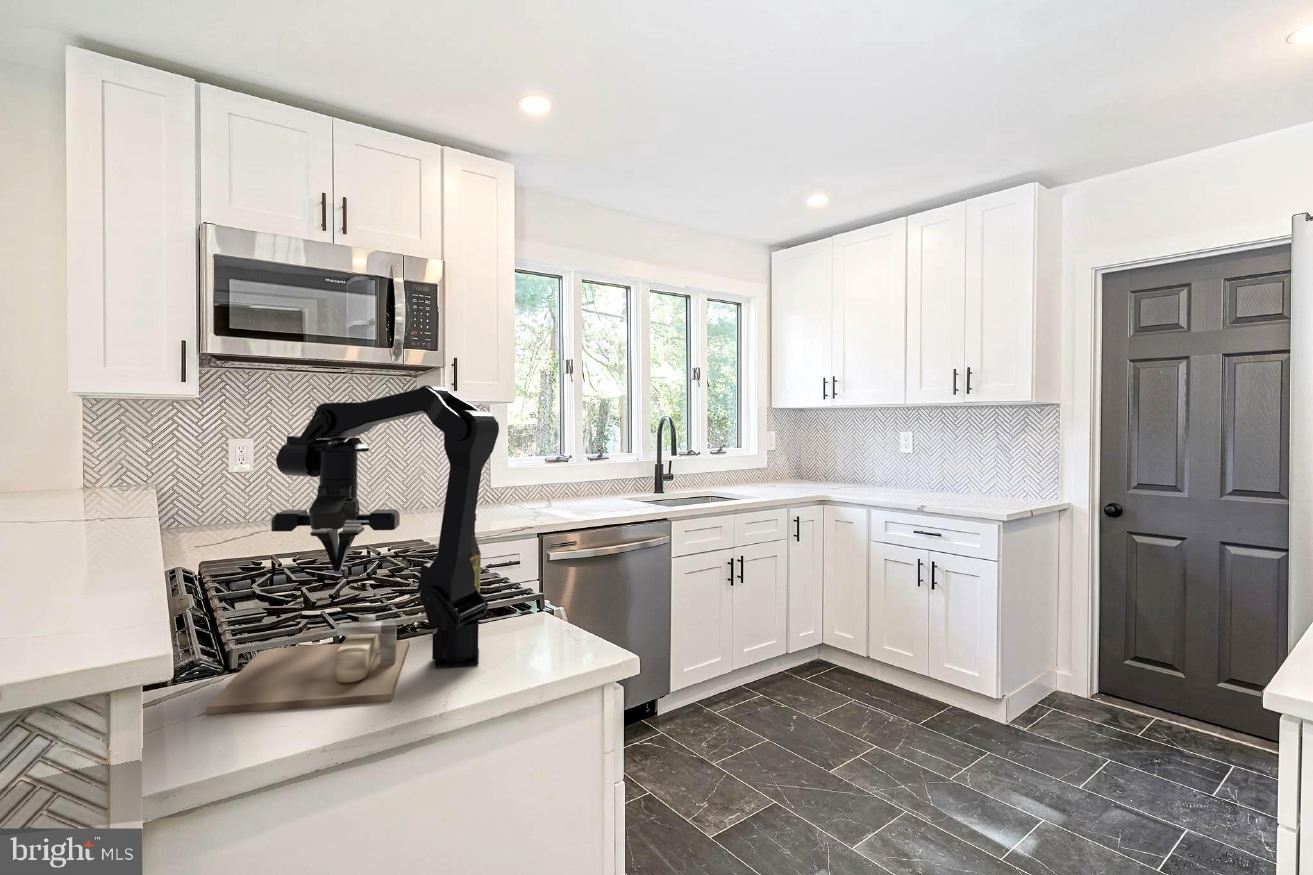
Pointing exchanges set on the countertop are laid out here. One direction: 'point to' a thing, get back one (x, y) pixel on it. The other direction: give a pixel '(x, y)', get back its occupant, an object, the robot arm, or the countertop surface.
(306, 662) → the base
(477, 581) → the sauce bottle
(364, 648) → the oak link
